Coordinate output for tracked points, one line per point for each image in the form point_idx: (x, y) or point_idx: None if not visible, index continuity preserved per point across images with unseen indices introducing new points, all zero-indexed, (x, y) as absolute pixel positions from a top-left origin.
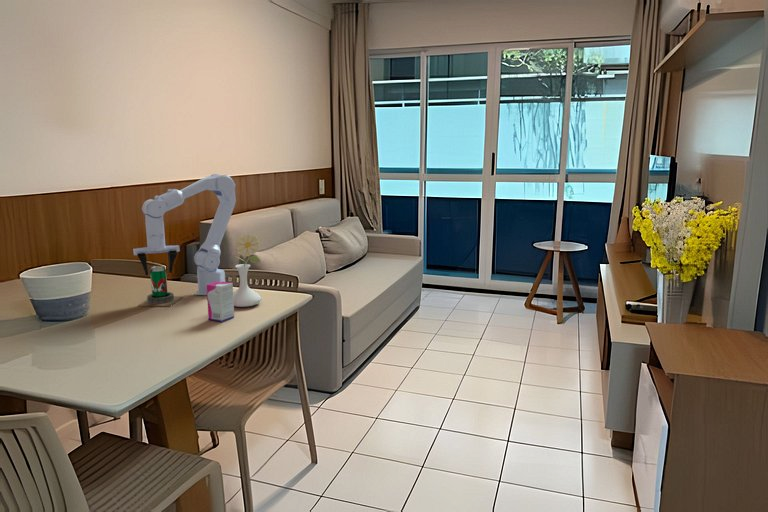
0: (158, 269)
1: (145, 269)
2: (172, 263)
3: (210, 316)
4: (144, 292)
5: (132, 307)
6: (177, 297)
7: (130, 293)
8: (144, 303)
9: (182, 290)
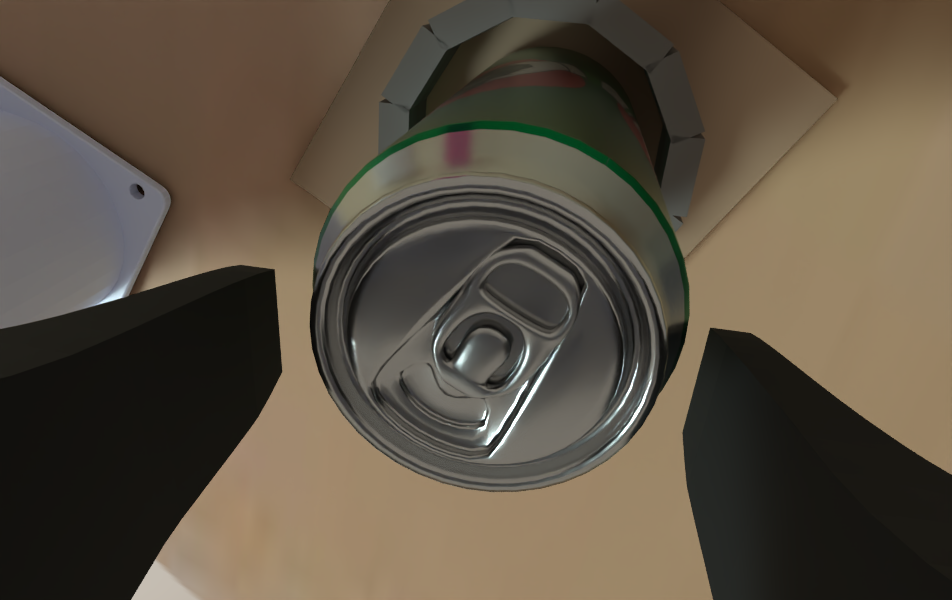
0: (506, 176)
1: (809, 387)
2: (61, 321)
3: None
4: (580, 558)
5: (901, 91)
6: (346, 171)
7: (694, 596)
8: (741, 125)
9: (269, 434)
